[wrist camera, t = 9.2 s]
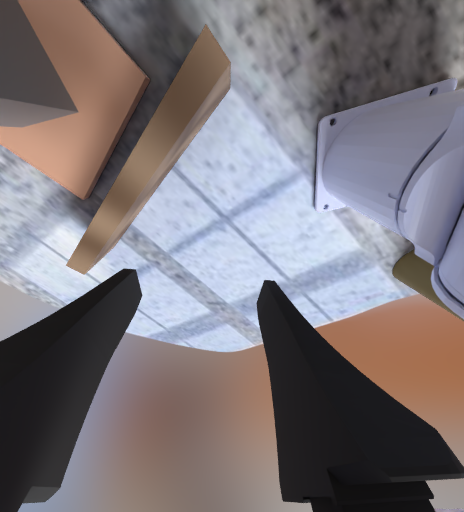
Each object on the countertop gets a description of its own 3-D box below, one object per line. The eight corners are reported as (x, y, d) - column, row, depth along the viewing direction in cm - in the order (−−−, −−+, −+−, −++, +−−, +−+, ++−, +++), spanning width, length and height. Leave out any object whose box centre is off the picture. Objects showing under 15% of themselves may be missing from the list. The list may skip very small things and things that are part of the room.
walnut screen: (214, 65, 12) (205, 24, 7) (230, 88, 12) (230, 62, 8) (100, 239, 19) (65, 265, 15) (113, 247, 20) (84, 274, 16)
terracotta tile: (-109, -217, 7) (-144, -255, 6) (150, 79, 12) (145, 76, 11) (-92, 73, 12) (-111, 69, 11) (88, 197, 17) (83, 199, 16)
